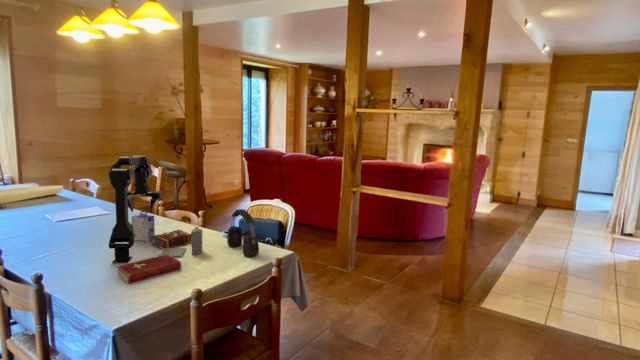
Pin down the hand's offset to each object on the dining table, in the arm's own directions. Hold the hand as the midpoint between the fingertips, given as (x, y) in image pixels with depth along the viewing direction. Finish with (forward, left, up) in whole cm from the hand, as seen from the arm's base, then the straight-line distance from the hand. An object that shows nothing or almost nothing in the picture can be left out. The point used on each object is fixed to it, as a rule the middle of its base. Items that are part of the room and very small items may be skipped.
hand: (142, 211), depth 193 cm
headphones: (-17, -50, -15) cm, 55 cm away
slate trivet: (-20, -19, -15) cm, 31 cm away
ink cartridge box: (+1, 0, -15) cm, 15 cm away
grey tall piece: (-20, -30, -15) cm, 39 cm away
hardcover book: (-41, -15, -15) cm, 46 cm away
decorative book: (-6, -15, -15) cm, 22 cm away
